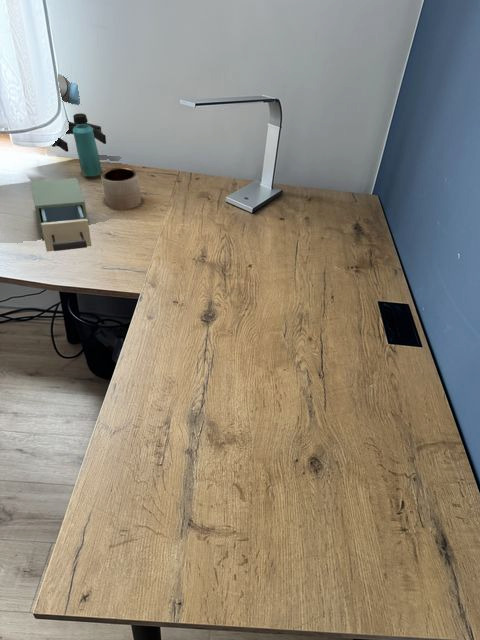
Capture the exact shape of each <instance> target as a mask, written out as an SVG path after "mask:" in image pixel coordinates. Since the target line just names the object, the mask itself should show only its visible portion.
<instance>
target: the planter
mask: <svg viewBox="0 0 480 640" xmlns="http://www.w3.org/2000/svg"><path fill="white" fill-rule="evenodd" d="M100 178H101V182H102V183H101V184H102V187H103V195H104V200H105V204H106V206H107V207H109V208H111V209H113V210H130V209H133V208H135V207H138V206H139V205H140V204H141V203H142V195H141V188H140V184H139V183H140V182H139V176H138V171H136V169H134V168H131V167H127V166H117V167H112V168H108V169H106V170H104V171H103V172H101V173H100Z"/></svg>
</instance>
